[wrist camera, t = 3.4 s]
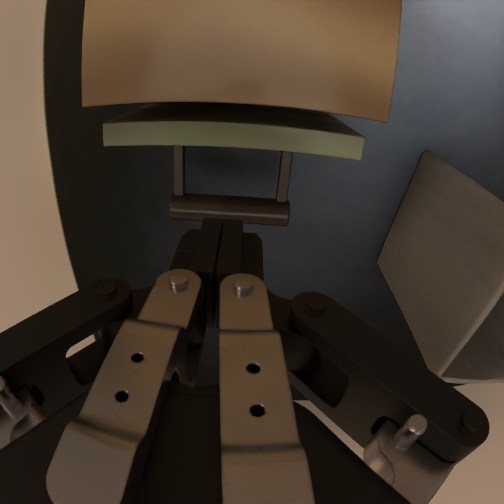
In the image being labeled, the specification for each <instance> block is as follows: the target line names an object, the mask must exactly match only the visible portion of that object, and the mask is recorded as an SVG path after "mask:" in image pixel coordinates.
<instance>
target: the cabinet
mask: <svg viewBox="0 0 504 504" xmlns="http://www.w3.org/2000/svg"><path fill="white" fill-rule="evenodd" d="M401 7H402V0H86V1H85V12H84V25H83V42H82V107H90V106H100V105H112V104H127V103H148V102H218V103H239V104H255V105H268V106H279V107H288V108H297V109H306V110H314V111H321V112H328V113H335V114H341V115H347V116H353V117H359V118H364V119H369V120H374V121H379V122H384V123H387V122H388V118H389V112H390V106H391V99H392V92H393V85H394V78H395V70H396V62H397V53H398V44H399V33H400V21H401Z"/></svg>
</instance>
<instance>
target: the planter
mask: <svg viewBox="0 0 504 504" xmlns="http://www.w3.org/2000/svg"><path fill="white" fill-rule="evenodd" d="M377 264H378V266H379V268H380V270H381V271H382V273H383V275H384V277H385V279H386V281H387V283H388V285H389V287H390V289H391V290H392V292H393V294H394V296H395V298H396V300H397V302H398V304H399V306H400V308H401V310H402V312H403V314H404V317H405V319H406V321H407V323H408V325H409V327H410V329H411V331H412V333H413V336H414V338H415V340H416V342H417V344H418V347H419V349H420V351H421V353H422V356H423V358H424V360H425V362H426V365H427V367H428V369H429V370H430V371H431V372H433V373H434V374H436V375H437V376H438V377H440V378H441V379H442V380H444V381H445V382H450V383H504V203H503V202H502V201H501V200H499V199H498V198H497V197H495V196H494V195H493V194H491V193H490V192H489V191H487V190H486V189H485V188H483V187H482V186H480V185H479V184H478V183H476V182H475V181H473V180H472V179H470V178H469V177H467V176H466V175H464V174H463V173H461V172H460V171H458V170H457V169H455V168H454V167H452V166H451V165H449V164H448V163H446V162H444V161H443V160H441V159H440V158H438V157H436V156H435V155H433V154H431V153H430V152H424V153H423V155H422V157H421V160H420V162H419V164H418V167H417V169H416V171H415V174H414V176H413V178H412V181H411V183H410V185H409V187H408V190H407V192H406V194H405V196H404V199H403V201H402V203H401V205H400V208H399V210H398V212H397V215H396V217H395V219H394V222H393V224H392V226H391V229H390V231H389V233H388V235H387V238H386V240H385V243H384V245H383V248H382V250H381V253H380V255H379V258H378V260H377Z"/></svg>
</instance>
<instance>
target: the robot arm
mask: <svg viewBox="0 0 504 504" xmlns="http://www.w3.org/2000/svg"><path fill="white" fill-rule="evenodd" d="M214 318H215V328H219V385H216V386H208V387H200V388H196V387H193V386H194V382H195V377H196V373H197V369H198V365H199V361H200V357H201V353H202V349H203V339H204V336H205V331H206V328H213V326H214ZM97 331H98V333H99V336H100V339H98V340H97V341H95V342H93V343H92V344H90V345H88V346H87V347H85V348H83V349H82V350H80V351H78V352H77V353H75V354H73V355H72V356H70V357H68V358H66V353H67V351H68V350H69V349H70V347H72V346H73V345H75V344H77V343H79V342H80V341H81V340H84V339H85V338H87V337H89V336H90V335H92V334H94V333H95V332H97ZM325 355H326V356H327V357H328V358H329V359H328V358H327V357H326V356H325ZM331 360H332V361H333V362H334V363H335V364H334V363H333V362H332V361H331ZM337 365H338V366H339V367H340V368H341V369H340V368H339V367H338V366H337ZM343 370H344V371H345V372H344V371H343ZM289 382H290V383H291V384H292V385H294V386H295V387H296V388H297V389H298V390H299V391H300V392H301V393H302V394H303V395H304V396H305V397H306V398H307V399H309V400H310V401H311V402H312V403H313V404H314V405H315V406H316V407H317V408H318V409H320V410H321V411H322V412H323V413H324V414H325V415H326V416H327V417H328V418H329V419H331V420H332V421H333V422H334V423H335V424H336V425H337V426H338V427H340V428H341V429H342V430H343V431H344V432H345V433H347V434H348V435H349V436H350V437H351V438H352V439H353V440H354V441H356V442H357V443H358V444H359V445H360V446H361V447H363V448H364V452H363V458H364V461H363V460H362V459H361V458H359V457H358V456H357V455H356V454H355V453H354V452H353V451H352V450H351V449H350V448H349V447H348V446H347V445H346V444H344V443H343V442H342V441H341V440H340V439H339V438H338V437H337V436H336V435H335V434H334V433H333V432H332V431H331V430H330V429H329V428H328V427H327V426H326V425H325V424H324V423H322V421H320V419H318V418H317V417H316V416H315V415H314V414H313V413H312V412H310V411H309V410H308V409H306V408H305V407H304V406H302V405H300V404H299V403H296V402H294V401H292V396H291V390H290V385H289ZM488 434H489V421H488V419H487V417H486V414H485V413H484V411H483V410H482V409H481V408H480V407H479V406H477V405H476V404H475V403H473V402H472V401H471V400H469V399H468V398H467V397H465V396H464V395H463V394H461V393H460V392H458V391H457V390H456V389H454V388H453V387H452V386H450V385H449V384H448V383H446V382H445V381H444V380H442V379H441V378H440V377H438V376H437V375H436V374H434V373H433V372H431V371H430V370H429V369H427V368H426V367H425V366H423V365H422V364H421V363H419V362H418V361H416V360H415V359H414V358H412V357H411V356H410V355H408V354H407V353H406V352H404V351H403V350H401V349H400V348H399V347H397V346H396V345H395V344H393V343H392V342H391V341H389V340H388V339H386V338H385V337H384V336H382V335H381V334H380V333H378V332H377V331H375V330H374V329H373V328H371V327H370V326H369V325H367V324H366V323H364V322H363V321H362V320H360V319H359V318H358V317H356V316H355V315H353V314H352V313H351V312H349V311H348V310H347V309H345V308H344V307H342V306H341V305H340V304H338V303H337V302H336V301H334V300H333V299H331V298H330V297H328V296H326V295H324V294H321V293H317V292H304V293H301V294H298V295H297V296H295V297H294V299H293V300H292V301H291V300H288V299H284V298H281V297H278V296H276V295H274V294H273V293H271V292H270V291H269V290H268V289H267V287H266V284H265V283H264V274H263V251H262V240H261V239H260V237H259V236H258V235H257V234H256V233H243V220H237V219H224V225H223V219H220V218H204V220H203V223H202V227H201V230H194V229H190V230H188V231H187V232H186V233H185V234H183V235H182V237H181V240H180V242H179V245H178V248H177V251H176V253H175V256H174V258H173V261H172V264H171V267H170V269H169V271H167V272H164V273H163V274H161V275H160V276H159V277H158V278H157V280H156V282H155V284H154V286H153V287H150V288H145V289H137V290H131V289H130V285H129V283H128V282H127V281H125V280H123V279H121V278H116V277H109V278H104V279H101V280H98V281H96V282H94V283H92V284H90V285H89V286H87V287H85V288H83V289H81V290H79V291H77V292H75V293H73V294H71V295H69V296H68V297H66V298H64V299H62V300H60V301H58V302H56V303H54V304H53V305H51V306H49V307H47V308H45V309H43V310H41V311H39V312H38V313H36V314H34V315H32V316H30V317H28V318H27V319H25V320H23V321H21V322H20V323H18V324H16V325H14V326H12V327H10V328H9V329H7V330H5V331H3V332H2V333H0V504H428V503H429V502H430V500H431V499H432V498H433V496H434V495H435V494H436V492H437V491H438V489H439V488H440V487H441V485H442V484H443V482H444V481H445V479H446V478H447V476H448V475H449V473H450V472H451V470H452V469H453V467H454V466H455V465H456V464H457V463H459V462H460V461H461V460H463V459H464V458H465V457H466V456H468V455H469V454H470V453H471V452H473V451H474V450H475V449H476V448H477V447H478V446H480V445H481V444H482V443H483V442H484V441H485V440H486V438H487V436H488Z"/></svg>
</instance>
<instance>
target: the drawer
mask: <svg viewBox="0 0 504 504" xmlns="http://www.w3.org/2000/svg"><path fill="white" fill-rule="evenodd" d="M103 141H104V146H129V145H173V182H174V193H173V194H172V195H171V198H170V203H169V214H170V218H171V219H173V220H193V221H203V220H204V218H220V219H223V222H224V219H237V220H243V223H244V224H259V225H274V226H287V225H288V222H289V215H290V203H289V200H287V195H288V188H289V180H290V172H291V164H292V155H293V152H297V153H307V154H316V155H324V156H332V157H340V158H347V159H354V160H361V159H362V153H363V148H364V142H365V137H363V136H362V135H360V134H359V133H357V132H356V131H354V130H353V129H351V128H350V127H348V126H347V125H345V124H344V123H342V122H341V121H339V120H337V119H336V118H334V117H333V116H331V115H329V114H326V113H319V112H311V111H303V110H295V109H285V108H275V107H264V106H250V105H233V104H207V103H158V104H148V105H145V106H143V107H140V108H138V109H135V110H133V111H130V112H128V113H126V114H123V115H121V116H119V117H116V118H114V119H112V120H109V121H107V122H105V123H103ZM185 146H215V147H235V148H250V149H264V150H276V151H281V156H280V165H279V175H278V184H277V192H276V199H271V198H257V197H242V196H226V195H207V194H186V193H185Z"/></svg>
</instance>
